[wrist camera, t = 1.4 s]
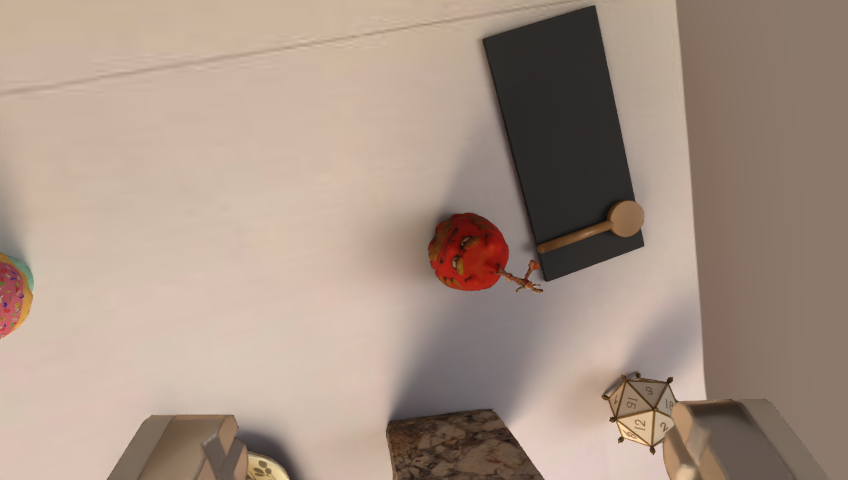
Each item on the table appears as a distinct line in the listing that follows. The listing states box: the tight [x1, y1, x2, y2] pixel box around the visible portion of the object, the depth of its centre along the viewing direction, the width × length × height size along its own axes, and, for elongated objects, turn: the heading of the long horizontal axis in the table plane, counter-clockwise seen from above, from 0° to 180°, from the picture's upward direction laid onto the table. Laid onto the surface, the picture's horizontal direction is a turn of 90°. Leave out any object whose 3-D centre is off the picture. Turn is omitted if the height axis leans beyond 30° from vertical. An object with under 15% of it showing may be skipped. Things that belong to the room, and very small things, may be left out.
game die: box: [601, 372, 678, 455], centre depth 55 cm, size 9×8×10 cm
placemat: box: [483, 5, 644, 282], centre depth 52 cm, size 26×12×1 cm, turn 17°
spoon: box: [537, 200, 644, 254], centre depth 53 cm, size 12×4×1 cm, turn 107°
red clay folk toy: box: [428, 213, 543, 293], centre depth 45 cm, size 8×7×15 cm
